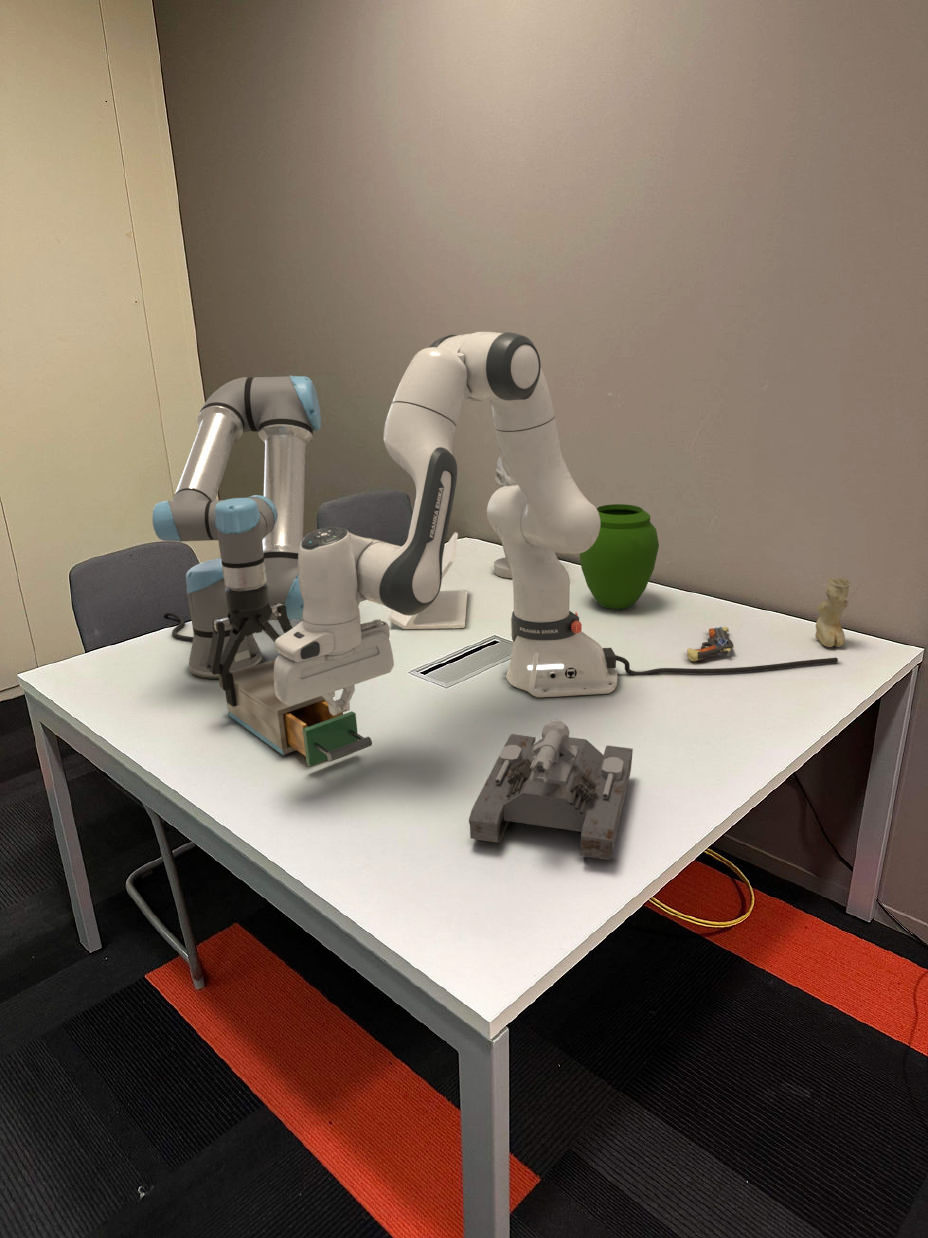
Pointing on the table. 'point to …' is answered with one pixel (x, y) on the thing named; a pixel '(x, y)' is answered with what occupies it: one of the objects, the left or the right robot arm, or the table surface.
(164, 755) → the table surface
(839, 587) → the sculpture
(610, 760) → the toy
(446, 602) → the tablet stand
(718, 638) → the toy gun
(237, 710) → the cabinet
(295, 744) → the drawer
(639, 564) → the vase
